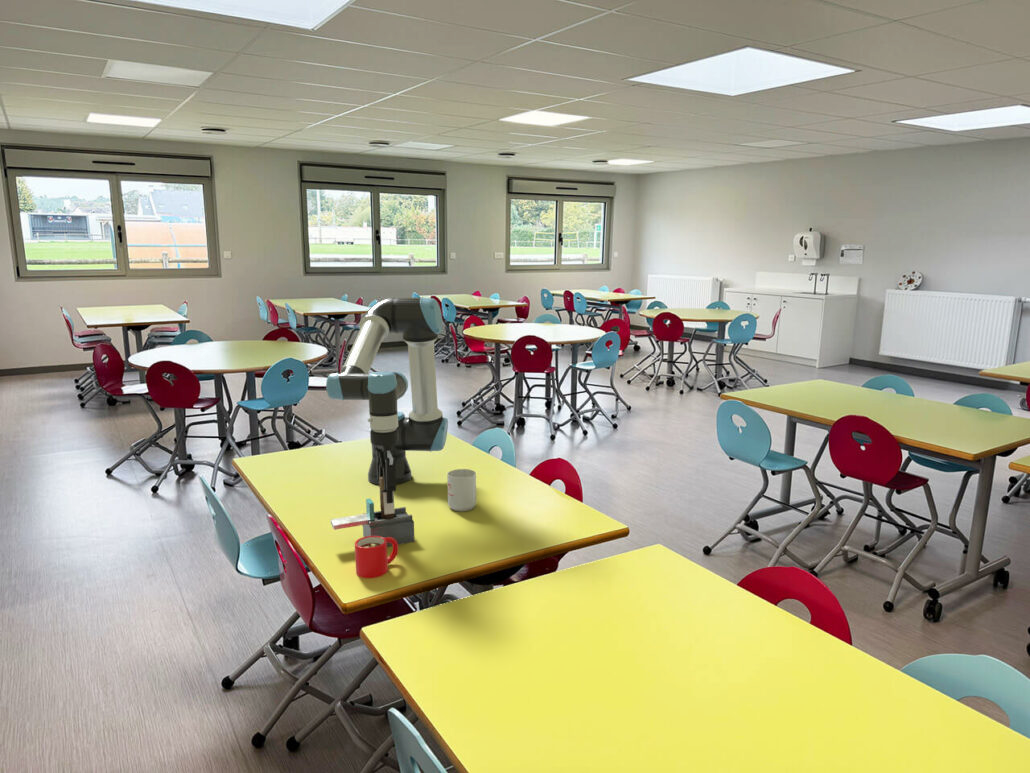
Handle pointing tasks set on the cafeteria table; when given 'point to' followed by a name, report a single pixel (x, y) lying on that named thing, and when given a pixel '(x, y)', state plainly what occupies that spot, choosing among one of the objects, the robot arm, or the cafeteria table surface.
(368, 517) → the grey teal l-shaped bracket
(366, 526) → the mount
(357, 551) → the mug
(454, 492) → the mug
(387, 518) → the dowel
